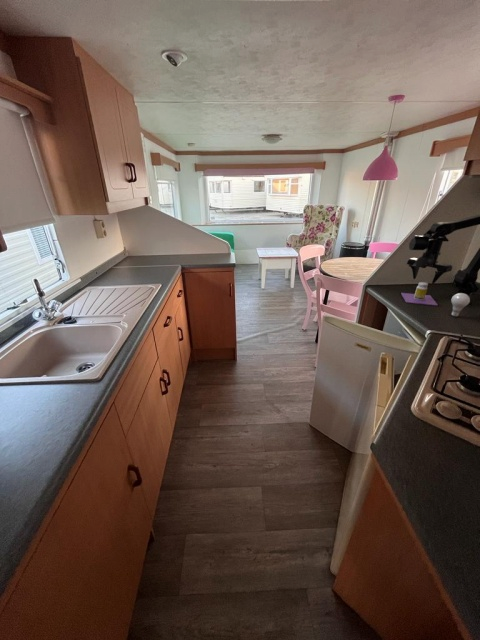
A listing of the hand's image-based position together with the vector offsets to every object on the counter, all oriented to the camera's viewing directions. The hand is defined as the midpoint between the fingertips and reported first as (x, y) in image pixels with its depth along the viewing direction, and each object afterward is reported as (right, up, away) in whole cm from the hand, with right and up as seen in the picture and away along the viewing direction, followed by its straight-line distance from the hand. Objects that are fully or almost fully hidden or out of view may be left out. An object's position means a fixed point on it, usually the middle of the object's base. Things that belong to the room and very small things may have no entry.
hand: (423, 281), depth 135 cm
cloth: (0, -9, +4) cm, 10 cm away
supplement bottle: (0, -9, +4) cm, 10 cm away
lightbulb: (+4, -18, -14) cm, 24 cm away
